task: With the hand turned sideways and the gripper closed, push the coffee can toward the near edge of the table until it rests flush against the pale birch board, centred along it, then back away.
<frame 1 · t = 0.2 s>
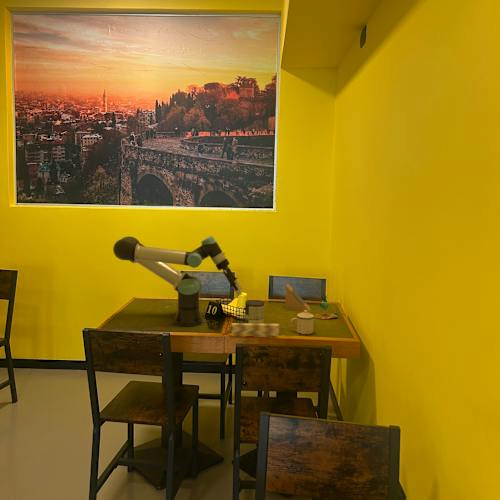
hand: (240, 292, 270), 15 cm above the table, fingers open, 13 cm apart
birch board: (255, 335, 239), on the table
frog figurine: (325, 318, 275), on the table
teacup with lid: (301, 332, 247), on the table
coffee can: (254, 328, 252), on the table
sandwich container: (298, 309, 295), on the table
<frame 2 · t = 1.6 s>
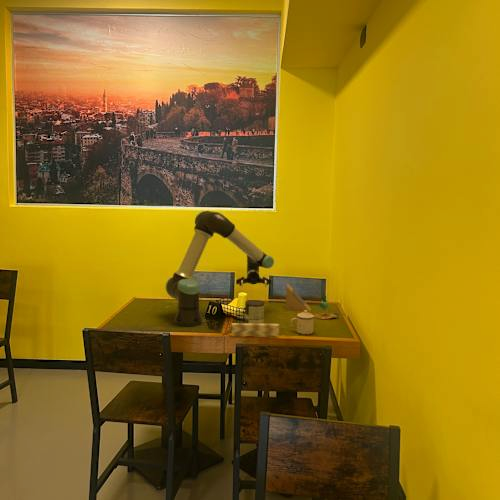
hand: (254, 284, 263), 21 cm above the table, fingers open, 13 cm apart
nothing on the table moved.
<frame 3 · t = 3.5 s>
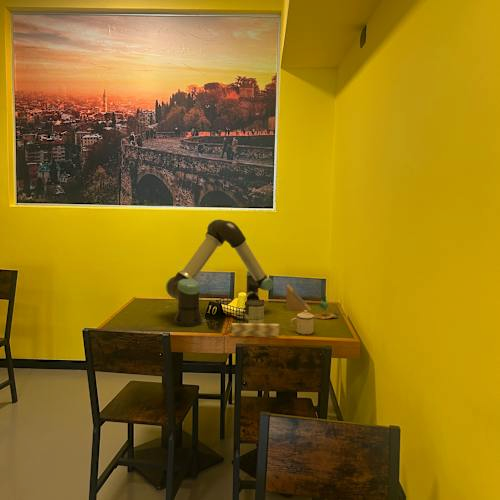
hand: (254, 309, 262), 7 cm above the table, fingers closed
nothing on the table moved.
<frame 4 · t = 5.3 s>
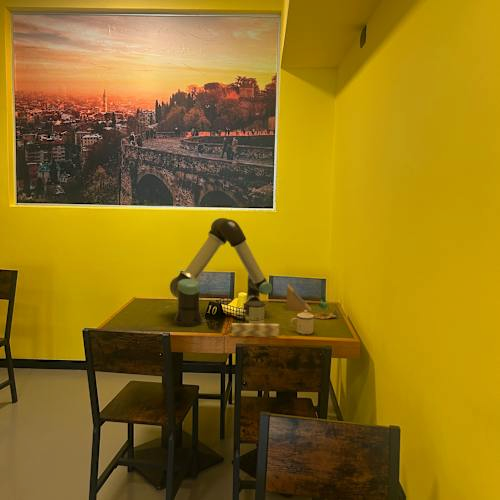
hand: (255, 313, 255), 7 cm above the table, fingers closed
coffee can: (254, 329, 251), on the table, touching gripper
everything else where it was.
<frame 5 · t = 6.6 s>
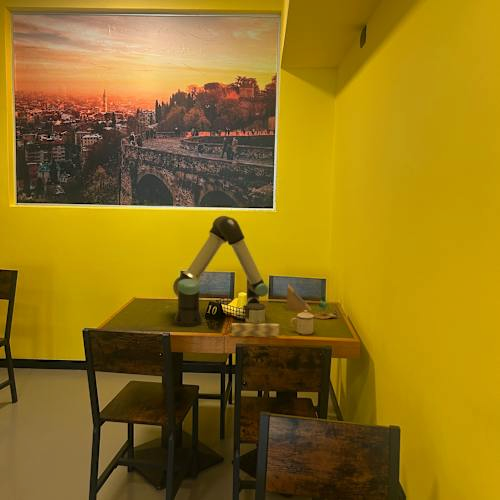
hand: (256, 315, 250), 7 cm above the table, fingers closed
coffee can: (254, 332, 245), on the table, touching birch board, gripper
everything else where it was.
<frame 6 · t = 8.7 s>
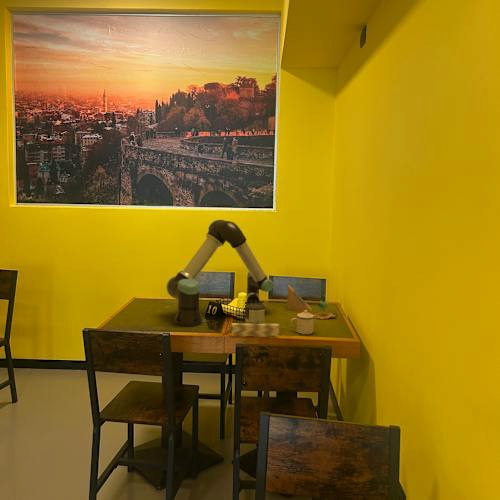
hand: (253, 310, 261), 7 cm above the table, fingers closed
coffee can: (254, 332, 245), on the table
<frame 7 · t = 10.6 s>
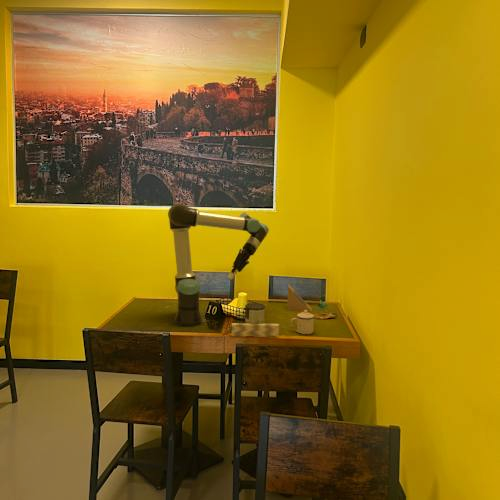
hand: (229, 278, 260), 24 cm above the table, fingers closed
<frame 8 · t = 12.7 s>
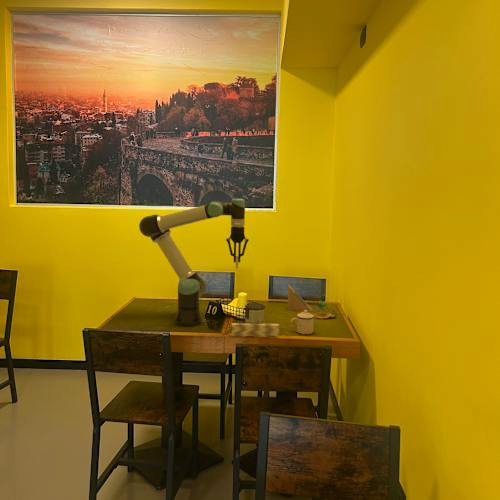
hand: (236, 268, 265), 29 cm above the table, fingers closed
at the end: coffee can 0.1 cm from the target spot on the table beside the birch board, on the table; coffee can tilted 0° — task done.
